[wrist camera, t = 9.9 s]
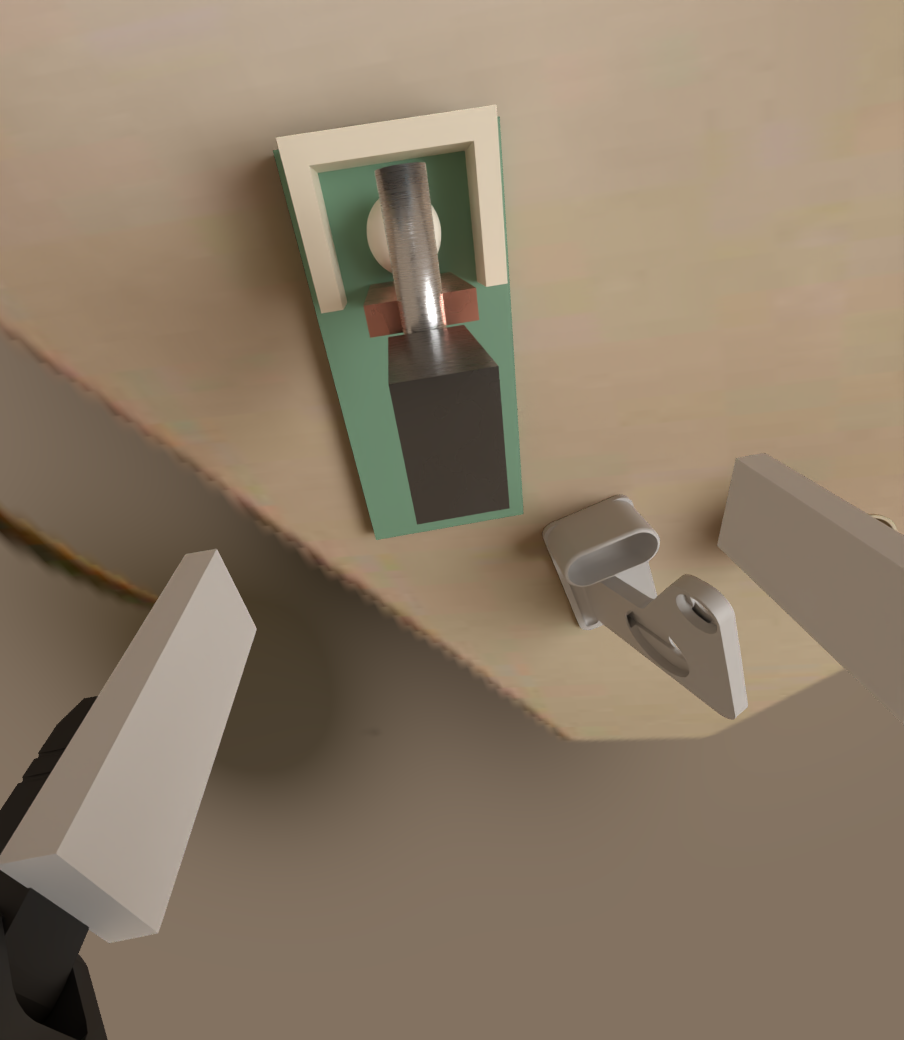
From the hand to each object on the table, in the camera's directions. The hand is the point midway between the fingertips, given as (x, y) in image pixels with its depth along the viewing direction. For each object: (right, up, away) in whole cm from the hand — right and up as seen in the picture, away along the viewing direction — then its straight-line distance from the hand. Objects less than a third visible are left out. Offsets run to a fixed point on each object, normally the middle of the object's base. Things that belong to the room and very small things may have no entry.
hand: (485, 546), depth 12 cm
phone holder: (+16, -4, +42) cm, 45 cm away
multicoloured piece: (-4, +18, +23) cm, 29 cm away
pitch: (-3, +14, +28) cm, 31 cm away
